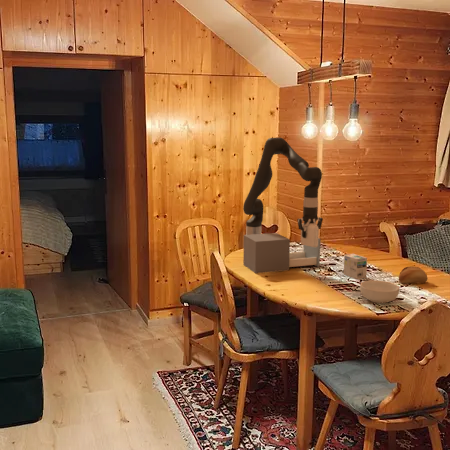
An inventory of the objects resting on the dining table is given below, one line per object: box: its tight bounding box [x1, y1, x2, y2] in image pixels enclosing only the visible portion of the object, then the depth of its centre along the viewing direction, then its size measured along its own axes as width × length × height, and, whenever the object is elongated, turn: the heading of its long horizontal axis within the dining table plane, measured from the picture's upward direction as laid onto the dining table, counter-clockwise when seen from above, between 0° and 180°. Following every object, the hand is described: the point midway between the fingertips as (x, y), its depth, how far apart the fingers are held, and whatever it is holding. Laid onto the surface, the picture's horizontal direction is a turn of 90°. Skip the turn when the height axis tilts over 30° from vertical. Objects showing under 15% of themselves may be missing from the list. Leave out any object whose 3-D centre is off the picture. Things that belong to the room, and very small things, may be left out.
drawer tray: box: [289, 237, 321, 268], centre depth 303 cm, size 18×20×16 cm
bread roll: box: [398, 266, 428, 284], centre depth 270 cm, size 10×15×8 cm, turn 104°
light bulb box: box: [343, 253, 368, 280], centre depth 281 cm, size 11×7×11 cm, turn 27°
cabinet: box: [243, 232, 291, 274], centre depth 297 cm, size 18×20×17 cm
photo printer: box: [300, 223, 320, 247], centre depth 287 cm, size 10×4×12 cm, turn 39°
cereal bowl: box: [359, 279, 400, 304], centre depth 243 cm, size 17×17×7 cm
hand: (309, 237), depth 287 cm, fingers closed on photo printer, 5 cm apart
